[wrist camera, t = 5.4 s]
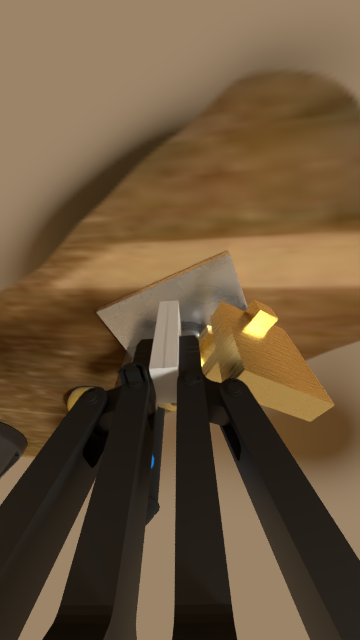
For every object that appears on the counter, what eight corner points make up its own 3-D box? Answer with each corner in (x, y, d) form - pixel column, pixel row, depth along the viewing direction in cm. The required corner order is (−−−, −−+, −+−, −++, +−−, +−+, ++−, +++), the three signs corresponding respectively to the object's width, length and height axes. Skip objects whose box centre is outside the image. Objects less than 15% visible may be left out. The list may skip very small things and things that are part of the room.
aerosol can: (170, 408, 41) (162, 566, 24) (129, 411, 42) (93, 567, 25) (162, 379, 36) (145, 549, 20) (116, 384, 37) (62, 551, 20)
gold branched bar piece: (145, 391, 28) (127, 492, 19) (222, 270, 19) (259, 354, 10) (186, 404, 29) (187, 504, 20) (275, 297, 20) (351, 393, 11)
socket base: (161, 387, 37) (155, 444, 29) (99, 307, 29) (66, 357, 21) (263, 356, 33) (289, 413, 25) (227, 250, 24) (250, 285, 16)
